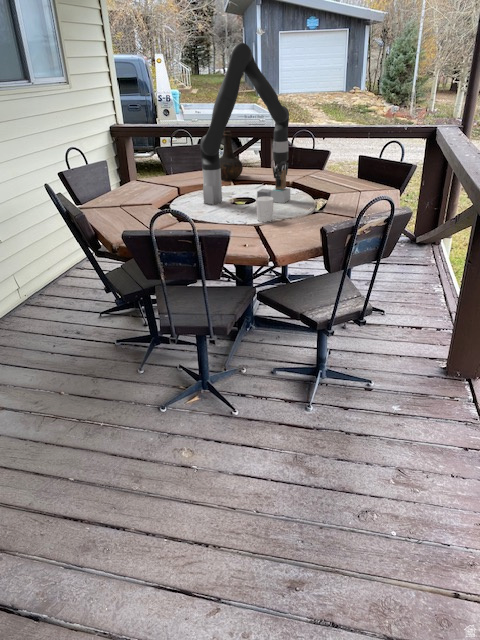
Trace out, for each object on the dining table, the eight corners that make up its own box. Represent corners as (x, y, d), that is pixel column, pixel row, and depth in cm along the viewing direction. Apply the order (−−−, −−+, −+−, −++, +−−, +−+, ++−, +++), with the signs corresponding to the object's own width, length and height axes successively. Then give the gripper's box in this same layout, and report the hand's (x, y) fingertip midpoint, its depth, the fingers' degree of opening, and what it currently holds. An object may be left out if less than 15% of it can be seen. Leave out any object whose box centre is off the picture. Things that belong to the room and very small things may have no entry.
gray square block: (267, 201, 253) (267, 192, 251) (257, 200, 256) (257, 191, 254) (272, 198, 258) (272, 189, 256) (262, 197, 261) (262, 188, 259)
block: (282, 189, 247) (282, 170, 243) (275, 188, 249) (275, 170, 245) (285, 187, 250) (286, 169, 246) (278, 186, 252) (278, 168, 248)
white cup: (252, 220, 225) (252, 199, 220) (264, 216, 229) (264, 195, 225) (265, 223, 220) (265, 201, 215) (276, 219, 224) (277, 198, 220)
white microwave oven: (283, 203, 248) (284, 191, 245) (270, 202, 252) (270, 189, 249) (290, 199, 254) (290, 187, 251) (277, 198, 258) (277, 186, 255)
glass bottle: (232, 173, 315) (230, 127, 302) (248, 178, 302) (247, 130, 289) (209, 178, 306) (206, 130, 293) (225, 183, 293) (223, 133, 280)
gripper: (281, 153, 234) (281, 189, 242) (293, 148, 245) (293, 183, 253) (267, 152, 237) (267, 188, 246) (280, 147, 248) (280, 181, 256)
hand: (280, 185), depth 249 cm, fingers closed on block, 4 cm apart
